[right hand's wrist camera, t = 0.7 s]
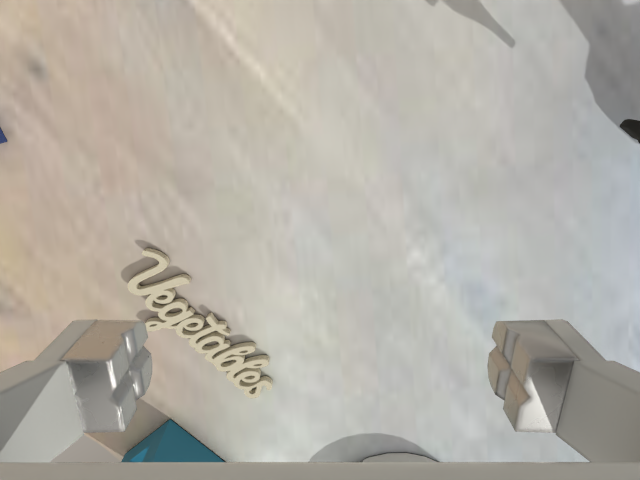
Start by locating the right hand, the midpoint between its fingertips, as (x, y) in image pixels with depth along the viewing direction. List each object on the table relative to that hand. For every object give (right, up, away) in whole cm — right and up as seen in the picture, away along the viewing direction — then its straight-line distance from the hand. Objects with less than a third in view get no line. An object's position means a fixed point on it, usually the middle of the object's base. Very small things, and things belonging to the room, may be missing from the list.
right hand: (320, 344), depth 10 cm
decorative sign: (-17, -10, +51) cm, 55 cm away
